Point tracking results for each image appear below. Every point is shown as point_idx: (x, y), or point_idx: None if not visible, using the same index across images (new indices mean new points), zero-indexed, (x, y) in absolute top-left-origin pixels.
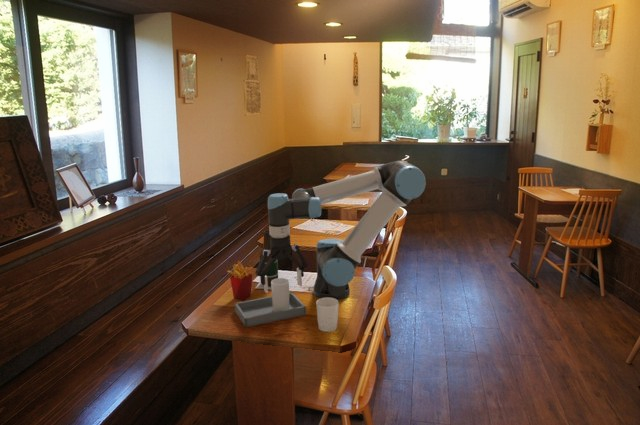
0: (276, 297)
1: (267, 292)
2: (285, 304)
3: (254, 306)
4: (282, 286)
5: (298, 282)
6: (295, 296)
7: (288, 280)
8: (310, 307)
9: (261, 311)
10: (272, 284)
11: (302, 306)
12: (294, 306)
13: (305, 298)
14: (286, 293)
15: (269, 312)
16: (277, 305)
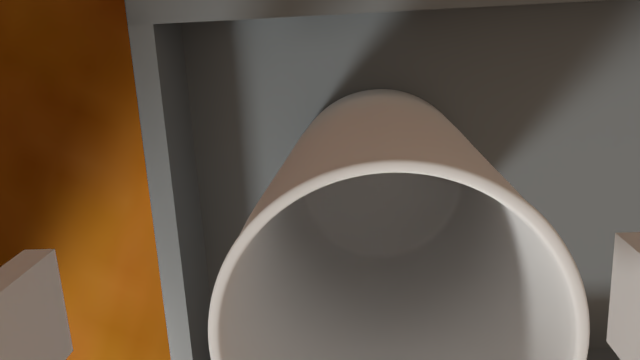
0: (480, 153)
1: (632, 236)
2: (354, 104)
3: (605, 354)
4: (401, 151)
5: (46, 331)
6: (170, 305)
7: (214, 314)
8: (77, 153)
9: (573, 234)
10: (579, 292)
11: (163, 15)
12: (224, 209)
13: (76, 351)
14: (324, 135)
15: (506, 179)
16: (453, 125)
